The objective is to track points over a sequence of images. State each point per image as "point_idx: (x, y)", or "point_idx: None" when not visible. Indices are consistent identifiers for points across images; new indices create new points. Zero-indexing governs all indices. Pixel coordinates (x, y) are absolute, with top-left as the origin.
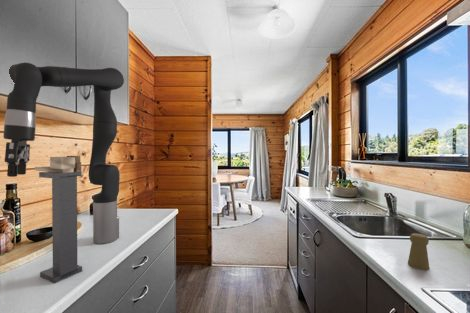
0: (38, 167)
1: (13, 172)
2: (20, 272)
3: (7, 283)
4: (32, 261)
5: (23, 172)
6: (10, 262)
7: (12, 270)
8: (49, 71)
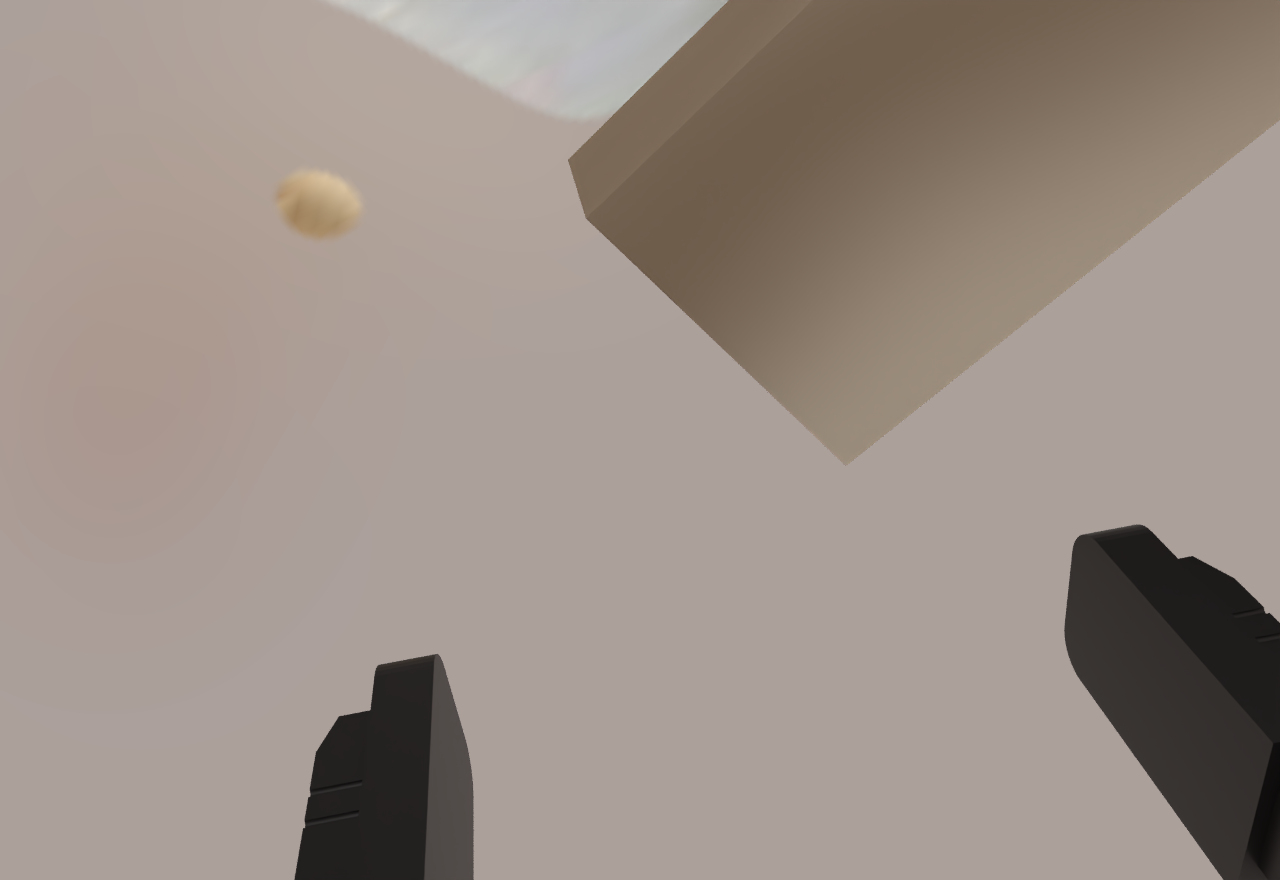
0: (1062, 278)
1: (1249, 603)
2: (596, 14)
3: None
4: (370, 10)
5: (446, 706)
6: (349, 198)
7: (532, 100)
8: None
